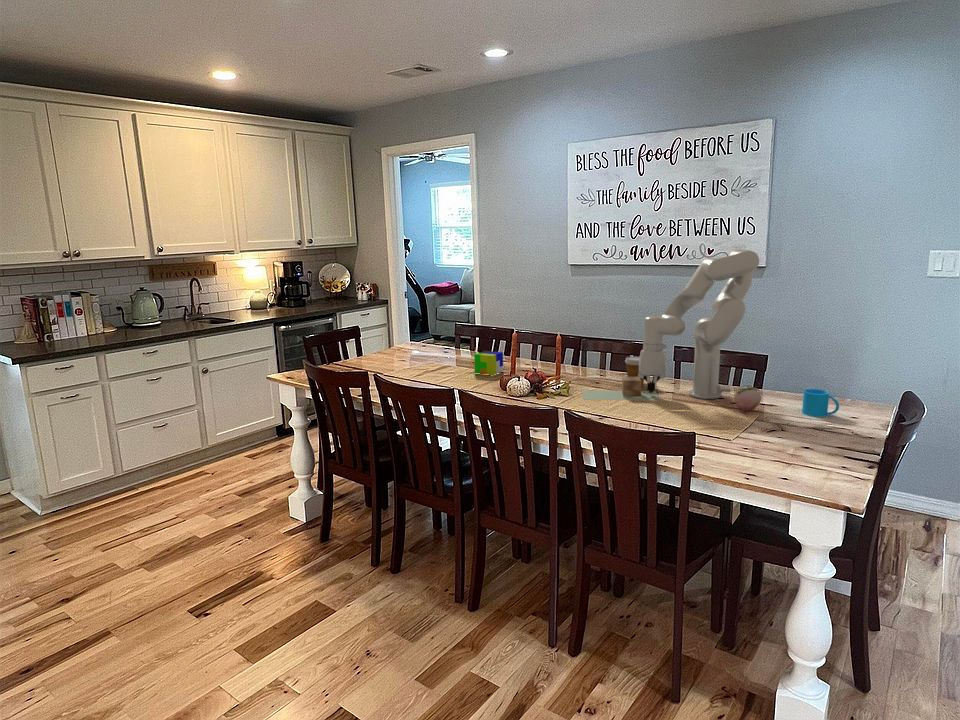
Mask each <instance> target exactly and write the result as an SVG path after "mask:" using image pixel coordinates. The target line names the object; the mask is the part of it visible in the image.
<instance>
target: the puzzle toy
mask: <svg viewBox="0 0 960 720" xmlns="http://www.w3.org/2000/svg"><path fill="white" fill-rule="evenodd" d="M473 355H474V359H473V360H474V374H475V373H480V374H489V375H494V374H497V373H499V372H502V371H503V372H504V352H503V351H494V350H492V351H491V350H483V351H481V352H477V353H474V354H473Z"/></svg>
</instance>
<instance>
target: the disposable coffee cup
mask: <svg viewBox="0 0 960 720" xmlns="http://www.w3.org/2000/svg"><path fill="white" fill-rule="evenodd" d="M639 358H640V356H627V357H626V358H625V360H624V362H625V366H626V368H625V369H626V375H627V376H626V377H638V374H639ZM640 379H641V387H642V386H644V381H645V379H642V378H640Z"/></svg>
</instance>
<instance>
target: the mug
mask: <svg viewBox="0 0 960 720" xmlns="http://www.w3.org/2000/svg"><path fill="white" fill-rule="evenodd" d="M802 396H803V397H802V406H801V407H802V408H801V413H802V414H803V415H804V416H810V417H817V418H818V417H819V418H822V417H826V416H829V415H830V416H831V415H833V414H836V413H837V412H838V411H839V409H840V403H839V402H838V400H837V399H836V398H835V397H833V396H831V395H830V392H829V391H827V390H824V389H818V388H817V389H816V388H808V389H804V390H803V395H802ZM830 399H831V400H832V401H833V402H834V404H835V409H834V410H832V411H830V412H828V411H829V402H830V401H829V400H830Z"/></svg>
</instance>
